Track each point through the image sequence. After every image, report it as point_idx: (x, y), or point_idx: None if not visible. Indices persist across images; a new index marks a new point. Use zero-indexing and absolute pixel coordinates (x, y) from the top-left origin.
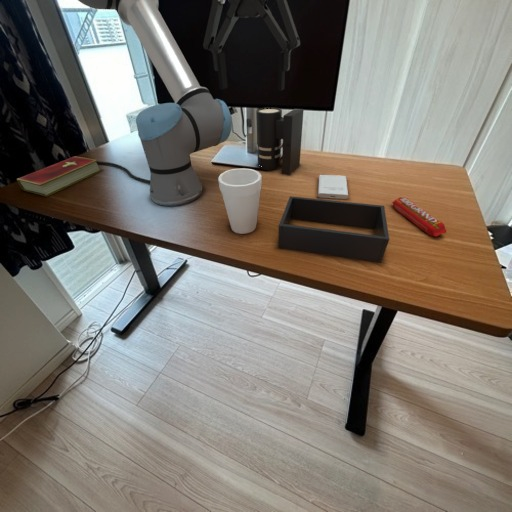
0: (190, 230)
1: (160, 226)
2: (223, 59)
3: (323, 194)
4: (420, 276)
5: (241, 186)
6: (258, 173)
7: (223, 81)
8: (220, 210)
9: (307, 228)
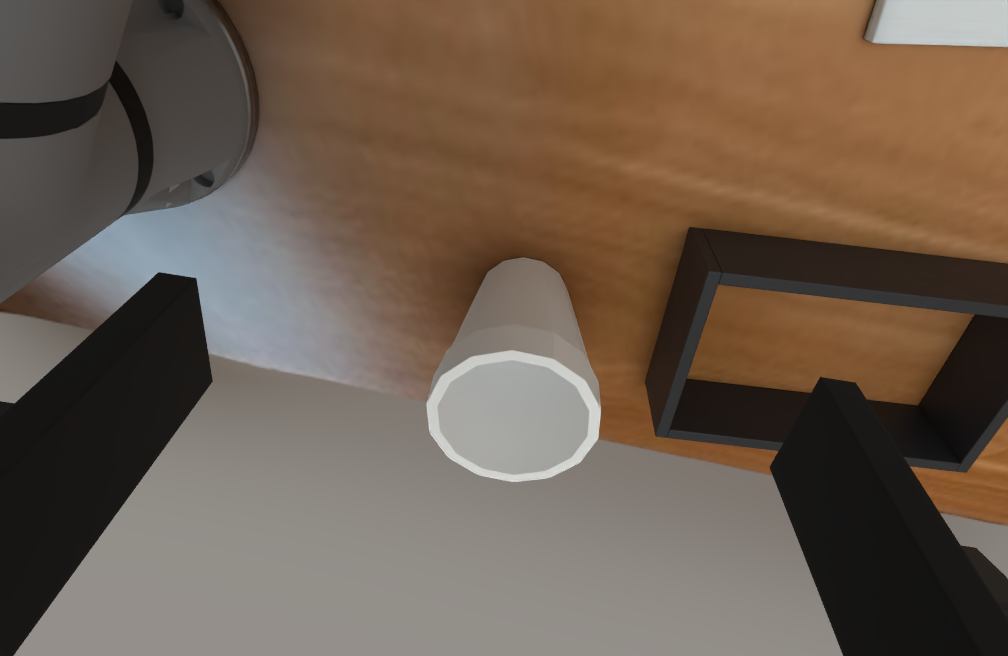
0: (353, 329)
1: (244, 317)
2: (17, 526)
3: (898, 42)
4: (997, 446)
5: (535, 478)
6: (585, 393)
7: (174, 397)
8: (403, 203)
9: (742, 444)
